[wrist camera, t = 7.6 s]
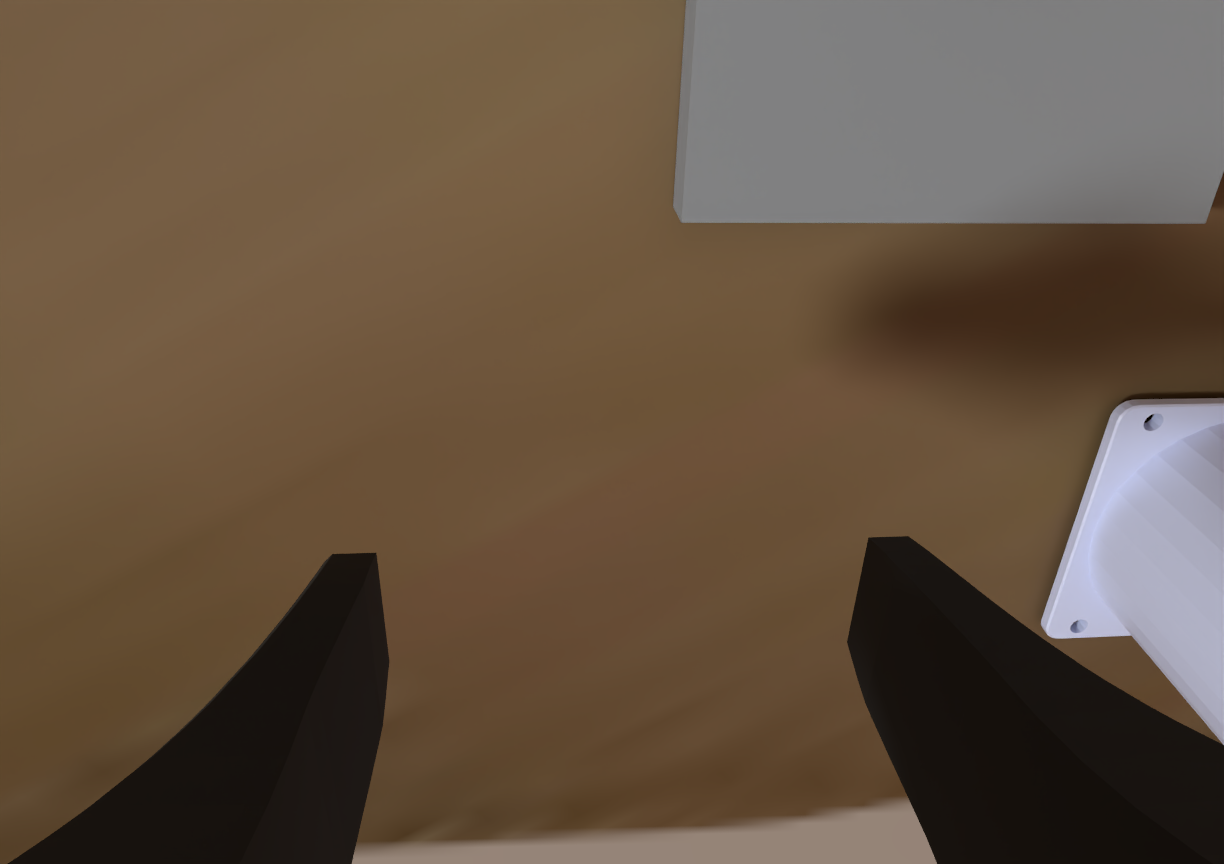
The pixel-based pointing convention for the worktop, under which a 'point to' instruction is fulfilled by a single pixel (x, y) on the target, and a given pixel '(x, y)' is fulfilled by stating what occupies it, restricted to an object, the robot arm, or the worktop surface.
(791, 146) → the gear board
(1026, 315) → the worktop surface
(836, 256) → the worktop surface
